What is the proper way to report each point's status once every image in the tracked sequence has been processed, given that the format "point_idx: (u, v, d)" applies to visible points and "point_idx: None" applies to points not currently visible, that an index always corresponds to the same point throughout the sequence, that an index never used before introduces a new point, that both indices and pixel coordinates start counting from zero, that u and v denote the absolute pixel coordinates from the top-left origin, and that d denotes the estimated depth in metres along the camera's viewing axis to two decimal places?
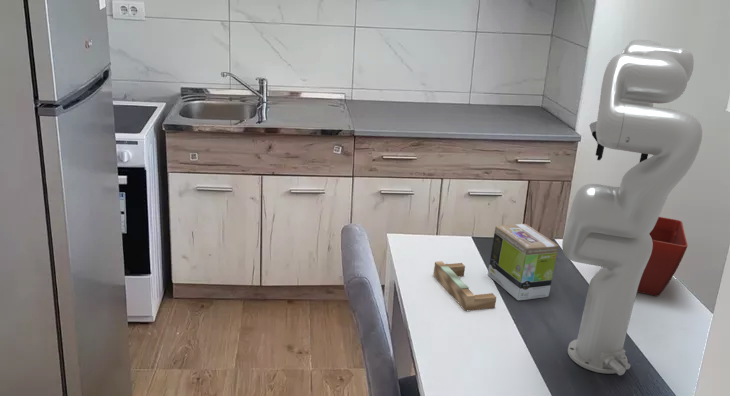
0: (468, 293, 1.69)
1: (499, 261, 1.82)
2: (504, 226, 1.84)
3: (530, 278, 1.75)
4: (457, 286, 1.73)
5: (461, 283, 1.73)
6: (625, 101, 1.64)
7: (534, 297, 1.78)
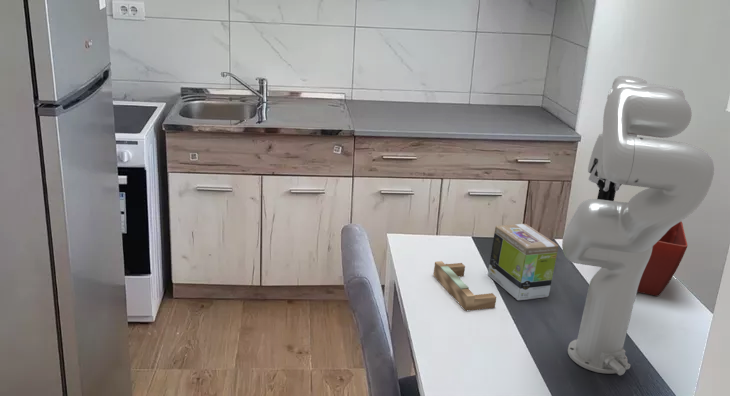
0: (468, 293, 1.69)
1: (499, 261, 1.82)
2: (504, 226, 1.84)
3: (530, 278, 1.75)
4: (457, 286, 1.73)
5: (461, 283, 1.73)
6: None
7: (534, 297, 1.78)
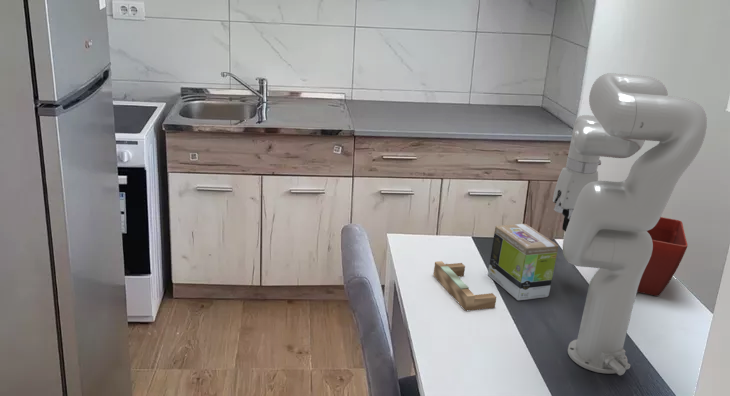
0: (468, 293, 1.69)
1: (499, 261, 1.82)
2: (504, 226, 1.84)
3: (530, 278, 1.75)
4: (457, 286, 1.73)
5: (461, 283, 1.73)
6: None
7: (534, 297, 1.78)
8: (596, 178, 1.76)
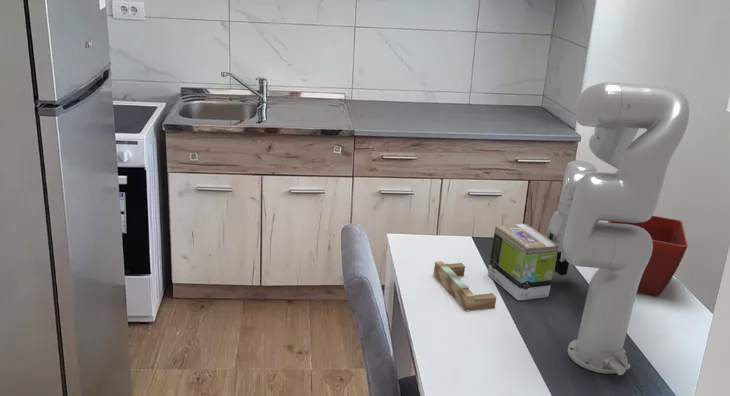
0: (468, 293, 1.69)
1: (499, 261, 1.82)
2: (504, 226, 1.84)
3: (530, 278, 1.75)
4: (457, 286, 1.73)
5: (461, 283, 1.73)
6: None
7: (534, 297, 1.78)
8: None
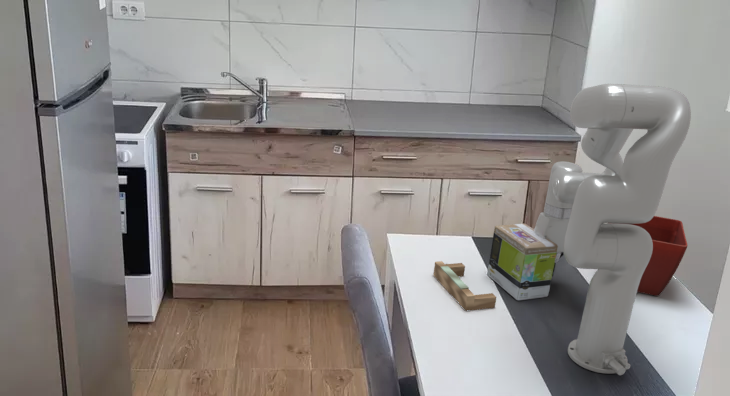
0: (468, 293, 1.69)
1: (498, 261, 1.82)
2: (503, 226, 1.83)
3: (530, 278, 1.75)
4: (457, 286, 1.73)
5: (461, 283, 1.73)
6: None
7: (533, 297, 1.78)
8: None
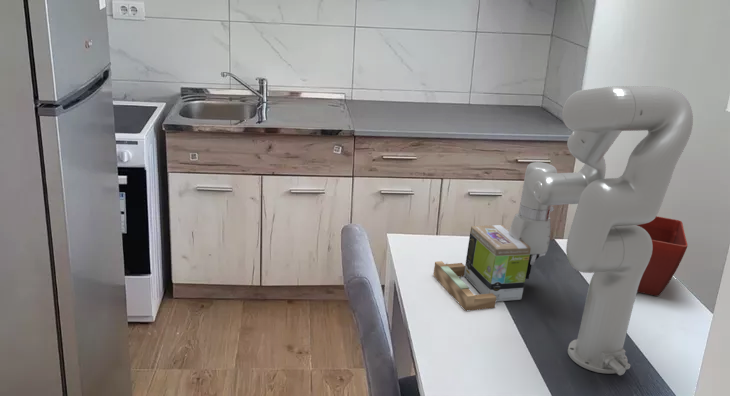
0: (468, 293, 1.69)
1: (473, 261, 1.81)
2: (480, 226, 1.82)
3: (501, 279, 1.73)
4: (457, 286, 1.73)
5: (461, 283, 1.73)
6: None
7: (506, 299, 1.75)
8: (549, 224, 1.76)
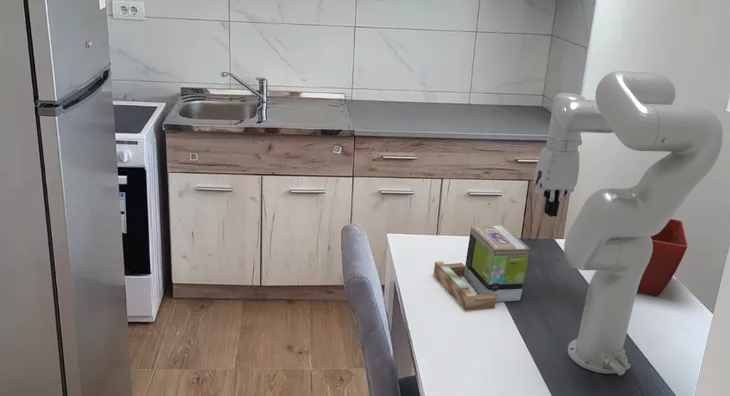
0: (468, 293, 1.69)
1: (472, 262, 1.81)
2: (480, 227, 1.82)
3: (499, 280, 1.72)
4: (457, 286, 1.73)
5: (461, 283, 1.73)
6: None
7: (504, 300, 1.75)
8: (577, 158, 1.71)
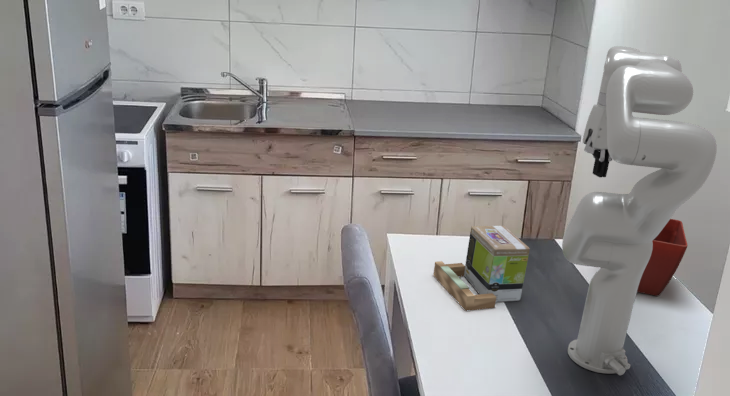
0: (468, 293, 1.69)
1: (472, 262, 1.81)
2: (480, 227, 1.82)
3: (499, 280, 1.72)
4: (457, 286, 1.73)
5: (461, 283, 1.73)
6: None
7: (504, 300, 1.75)
8: None
